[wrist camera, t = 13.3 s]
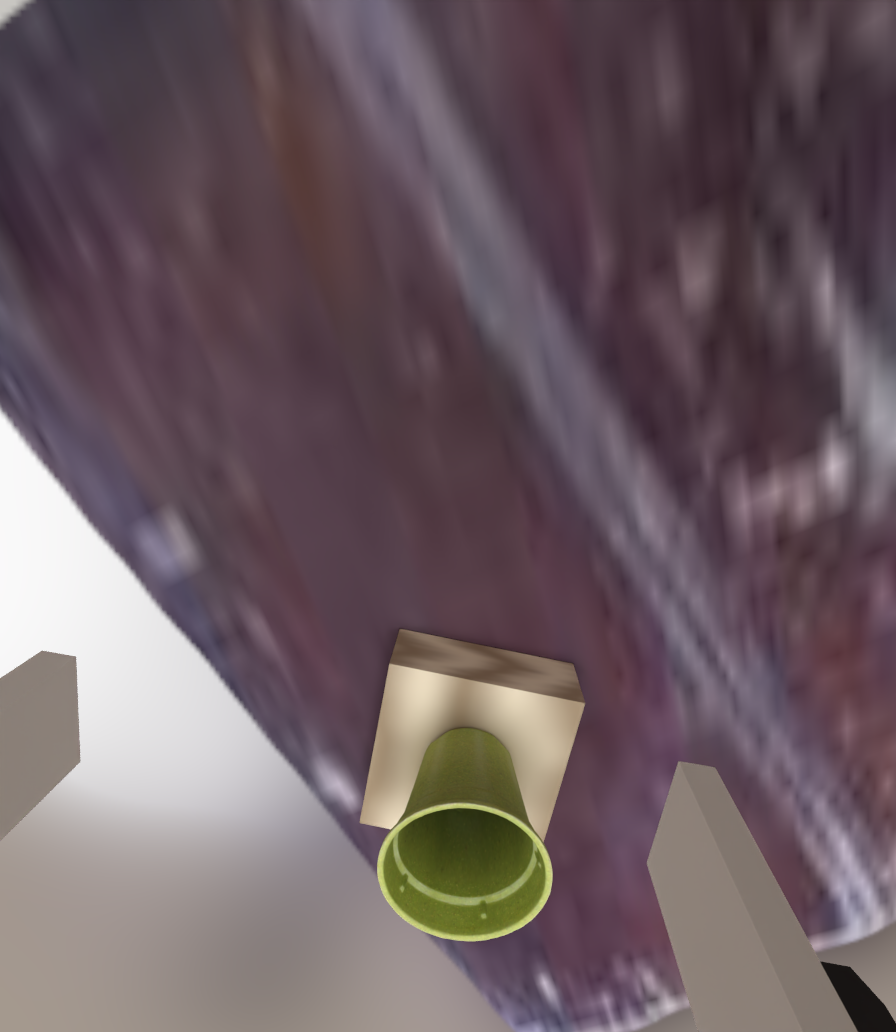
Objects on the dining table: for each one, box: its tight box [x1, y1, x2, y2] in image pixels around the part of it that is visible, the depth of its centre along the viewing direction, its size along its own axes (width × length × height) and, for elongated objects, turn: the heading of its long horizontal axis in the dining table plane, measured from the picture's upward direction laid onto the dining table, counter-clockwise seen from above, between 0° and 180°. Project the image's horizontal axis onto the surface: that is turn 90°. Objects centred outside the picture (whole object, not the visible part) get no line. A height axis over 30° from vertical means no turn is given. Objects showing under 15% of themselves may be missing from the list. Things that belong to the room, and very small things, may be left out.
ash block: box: [360, 629, 585, 842], centre depth 41 cm, size 13×13×5 cm
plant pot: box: [377, 728, 553, 941], centre depth 35 cm, size 9×9×9 cm
